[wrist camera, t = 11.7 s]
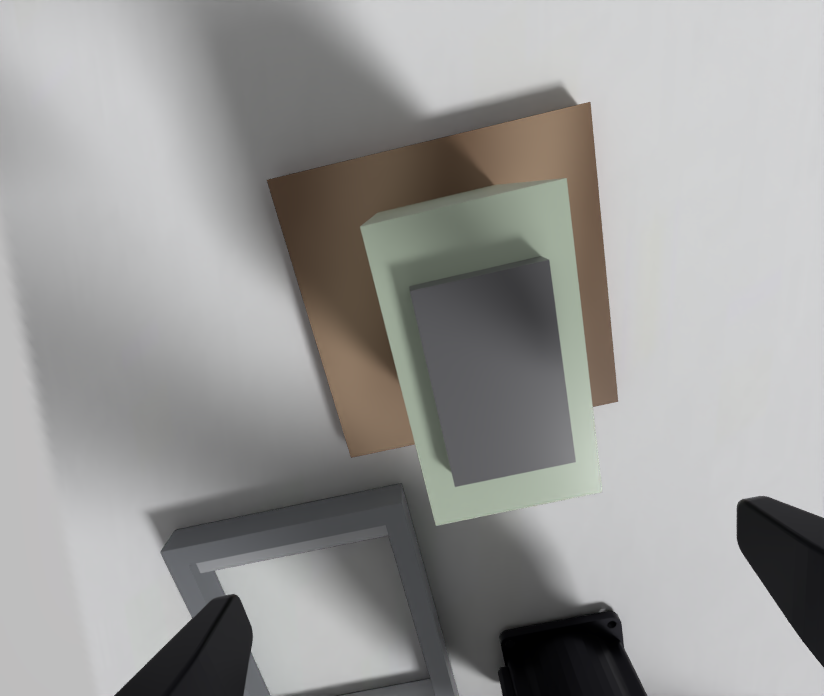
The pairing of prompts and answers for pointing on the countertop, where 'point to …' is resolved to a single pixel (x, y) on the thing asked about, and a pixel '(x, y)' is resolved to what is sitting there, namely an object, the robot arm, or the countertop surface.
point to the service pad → (409, 184)
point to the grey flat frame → (307, 531)
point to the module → (489, 346)
